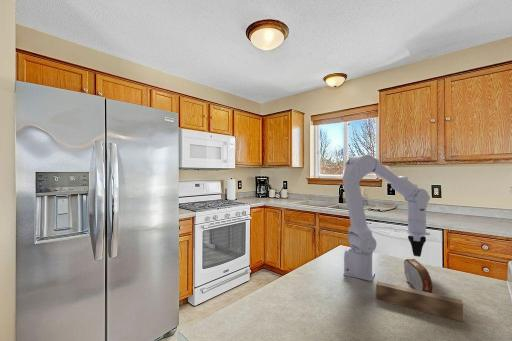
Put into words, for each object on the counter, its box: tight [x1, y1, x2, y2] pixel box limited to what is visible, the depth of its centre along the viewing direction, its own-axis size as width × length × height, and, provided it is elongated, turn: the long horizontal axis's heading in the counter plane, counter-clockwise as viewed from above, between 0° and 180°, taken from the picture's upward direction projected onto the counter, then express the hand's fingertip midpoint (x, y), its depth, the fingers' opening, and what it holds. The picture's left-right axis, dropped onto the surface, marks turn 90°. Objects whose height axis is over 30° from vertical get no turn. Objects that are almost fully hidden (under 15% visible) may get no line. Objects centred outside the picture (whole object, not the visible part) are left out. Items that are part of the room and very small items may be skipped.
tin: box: [403, 258, 433, 293], centre depth 80 cm, size 15×3×8 cm, turn 168°
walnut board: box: [375, 280, 464, 323], centre depth 69 cm, size 20×2×4 cm, turn 56°
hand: (416, 255), depth 93 cm, fingers closed
